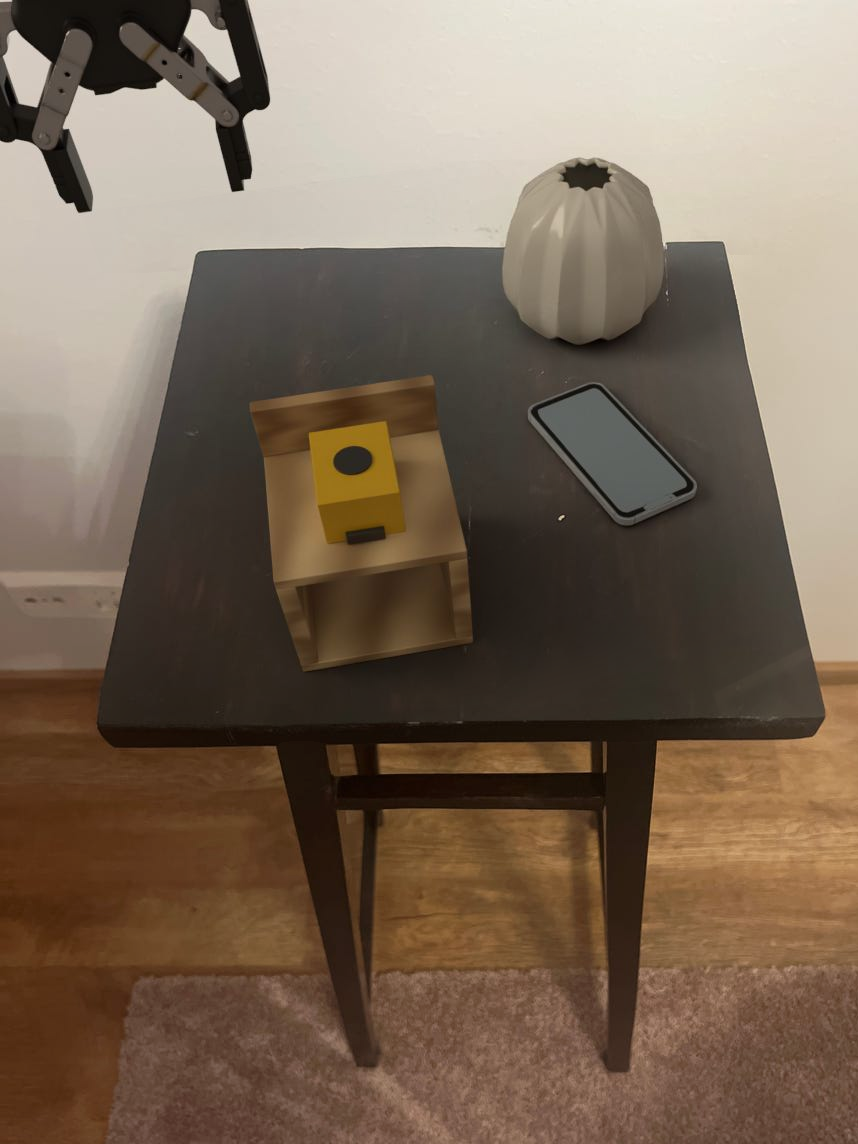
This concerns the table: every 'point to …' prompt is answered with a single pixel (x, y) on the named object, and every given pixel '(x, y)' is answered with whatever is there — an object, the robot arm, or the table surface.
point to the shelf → (375, 568)
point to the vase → (583, 252)
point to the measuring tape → (356, 483)
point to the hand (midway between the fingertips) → (162, 194)
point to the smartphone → (612, 453)
